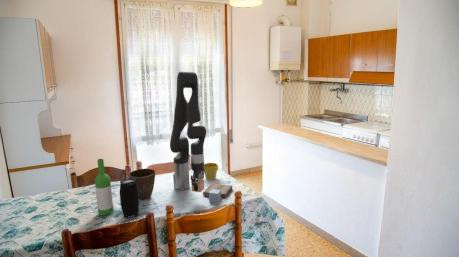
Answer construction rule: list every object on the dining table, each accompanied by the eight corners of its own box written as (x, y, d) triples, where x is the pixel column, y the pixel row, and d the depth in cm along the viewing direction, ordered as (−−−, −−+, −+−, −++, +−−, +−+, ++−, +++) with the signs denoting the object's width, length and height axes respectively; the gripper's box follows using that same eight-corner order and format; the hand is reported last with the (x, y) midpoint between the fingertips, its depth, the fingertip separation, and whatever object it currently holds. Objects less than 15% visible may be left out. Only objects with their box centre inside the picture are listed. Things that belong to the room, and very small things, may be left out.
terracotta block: (191, 191, 181) (191, 182, 180) (195, 187, 186) (195, 178, 185) (200, 192, 180) (200, 183, 178) (204, 188, 185) (204, 179, 184)
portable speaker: (118, 217, 167) (115, 181, 164) (132, 210, 175) (128, 176, 171) (130, 220, 163) (126, 184, 159) (143, 213, 171) (140, 178, 167)
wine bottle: (108, 208, 178) (103, 156, 172) (116, 212, 173) (111, 158, 167) (95, 213, 172) (89, 159, 166) (103, 217, 167) (97, 162, 161)
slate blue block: (209, 201, 184) (208, 192, 183) (212, 197, 189) (212, 189, 188) (218, 202, 182) (217, 193, 181) (221, 198, 187) (221, 190, 186)
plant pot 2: (211, 182, 214) (211, 168, 212) (200, 179, 220) (199, 165, 218) (221, 177, 222) (220, 164, 220) (210, 174, 228) (209, 161, 226)
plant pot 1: (150, 204, 182) (148, 177, 179) (126, 202, 185) (124, 176, 182) (161, 194, 196) (159, 169, 193) (138, 192, 199) (136, 168, 196)
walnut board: (203, 195, 192) (203, 191, 191) (211, 187, 205) (211, 183, 205) (225, 198, 188) (225, 194, 187) (232, 189, 201) (232, 185, 200)
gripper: (196, 156, 187) (197, 183, 191) (185, 164, 174) (186, 193, 177) (208, 157, 185) (208, 185, 188) (198, 165, 171) (199, 194, 175)
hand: (198, 188), depth 183 cm, fingers closed on terracotta block, 5 cm apart
